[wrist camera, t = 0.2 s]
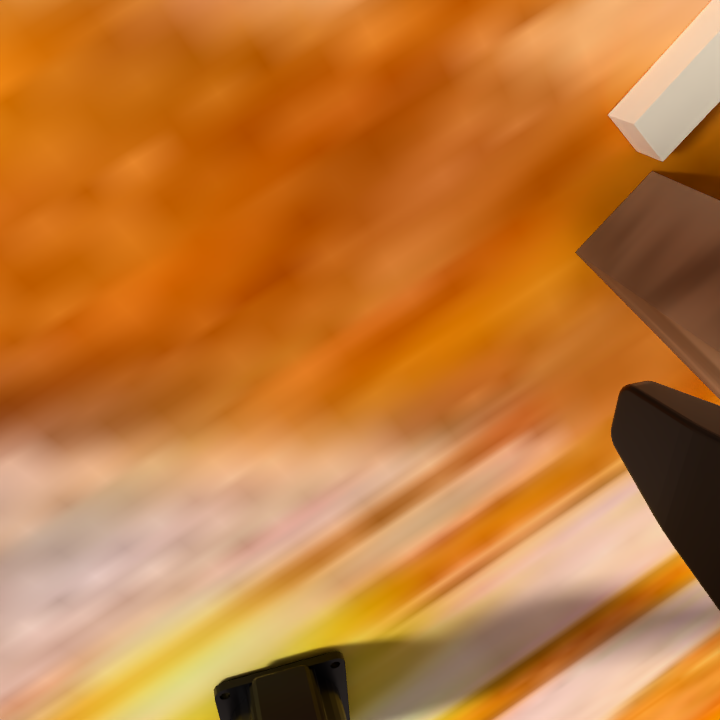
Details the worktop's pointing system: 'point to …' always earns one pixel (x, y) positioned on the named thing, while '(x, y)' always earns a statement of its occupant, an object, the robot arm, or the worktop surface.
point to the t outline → (674, 89)
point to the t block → (666, 267)
